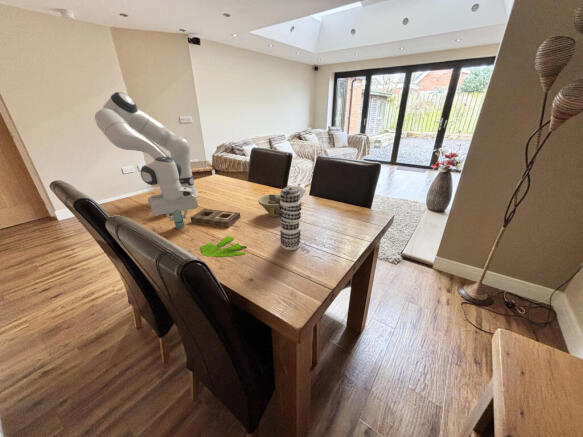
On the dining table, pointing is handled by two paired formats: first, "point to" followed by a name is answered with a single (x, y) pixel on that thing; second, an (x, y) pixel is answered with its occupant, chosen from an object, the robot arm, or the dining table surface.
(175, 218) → the peg
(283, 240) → the decorative candle
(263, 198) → the bowl
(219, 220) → the board
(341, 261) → the dining table surface
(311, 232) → the dining table surface
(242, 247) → the green glove
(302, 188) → the spinning top
